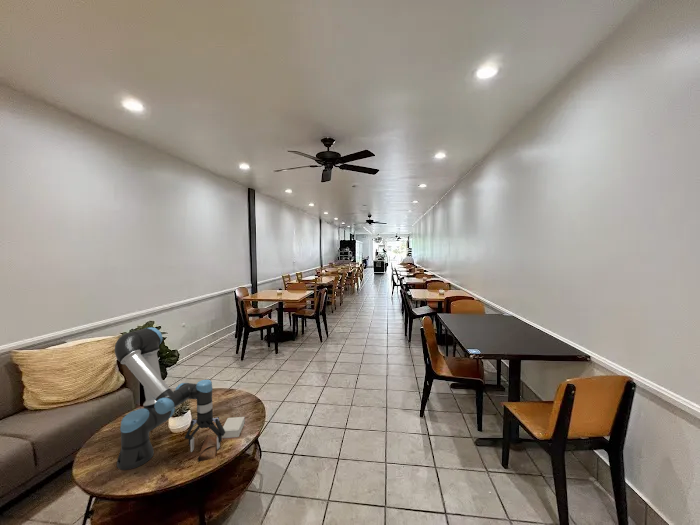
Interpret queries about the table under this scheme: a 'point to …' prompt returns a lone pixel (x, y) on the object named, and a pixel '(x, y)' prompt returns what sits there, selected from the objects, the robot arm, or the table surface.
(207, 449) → the sunglasses case
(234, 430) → the block
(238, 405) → the table surface
